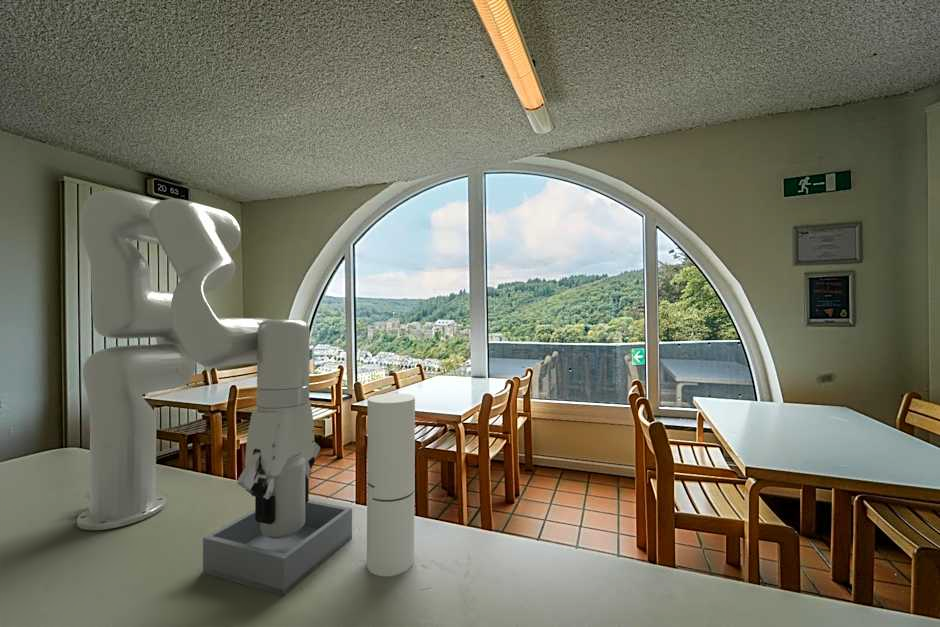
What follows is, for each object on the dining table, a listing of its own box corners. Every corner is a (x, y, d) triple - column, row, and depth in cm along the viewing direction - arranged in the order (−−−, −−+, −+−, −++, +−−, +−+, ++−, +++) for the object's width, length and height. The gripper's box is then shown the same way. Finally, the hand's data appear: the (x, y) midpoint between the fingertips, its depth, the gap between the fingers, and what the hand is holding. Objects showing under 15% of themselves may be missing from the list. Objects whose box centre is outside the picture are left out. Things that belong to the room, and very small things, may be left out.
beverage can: (288, 543, 60) (288, 462, 60) (250, 539, 61) (251, 459, 61) (313, 522, 66) (313, 449, 66) (278, 518, 67) (279, 446, 67)
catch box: (202, 572, 59) (203, 537, 59) (281, 522, 73) (282, 495, 73) (284, 596, 54) (284, 558, 54) (351, 538, 68) (352, 508, 68)
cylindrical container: (396, 542, 67) (397, 391, 67) (423, 561, 62) (424, 398, 62) (357, 561, 62) (358, 397, 62) (383, 583, 57) (384, 405, 57)
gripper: (303, 387, 73) (303, 486, 73) (215, 407, 57) (214, 535, 57) (338, 389, 71) (338, 492, 70) (256, 411, 54) (255, 545, 54)
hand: (283, 510), depth 64 cm, fingers closed on beverage can, 6 cm apart
